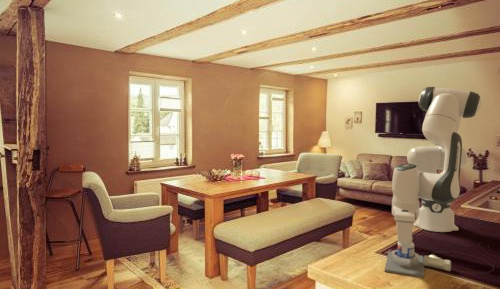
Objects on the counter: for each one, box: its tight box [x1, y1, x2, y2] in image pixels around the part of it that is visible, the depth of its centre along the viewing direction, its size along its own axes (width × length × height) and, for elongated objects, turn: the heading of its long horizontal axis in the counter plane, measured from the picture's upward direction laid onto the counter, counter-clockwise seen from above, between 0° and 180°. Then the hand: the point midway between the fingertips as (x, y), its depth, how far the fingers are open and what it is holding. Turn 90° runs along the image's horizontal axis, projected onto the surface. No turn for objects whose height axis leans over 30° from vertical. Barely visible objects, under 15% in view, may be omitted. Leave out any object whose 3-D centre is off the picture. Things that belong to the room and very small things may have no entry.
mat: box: [384, 251, 425, 279], centre depth 123 cm, size 18×12×1 cm, turn 154°
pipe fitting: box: [423, 254, 452, 273], centre depth 121 cm, size 8×4×7 cm
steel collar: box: [391, 249, 419, 268], centre depth 123 cm, size 9×9×3 cm
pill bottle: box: [397, 236, 415, 258], centre depth 123 cm, size 6×5×10 cm
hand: (405, 248), depth 123 cm, fingers open, 8 cm apart
